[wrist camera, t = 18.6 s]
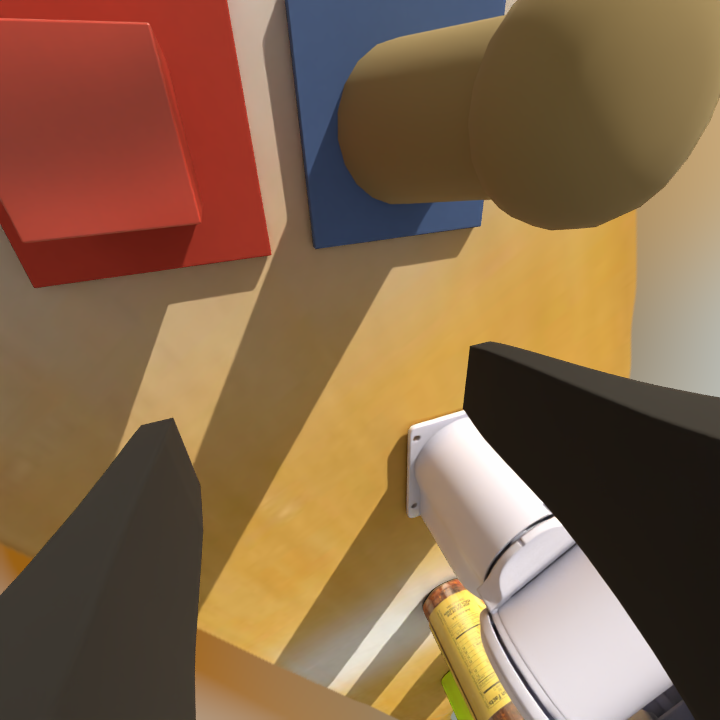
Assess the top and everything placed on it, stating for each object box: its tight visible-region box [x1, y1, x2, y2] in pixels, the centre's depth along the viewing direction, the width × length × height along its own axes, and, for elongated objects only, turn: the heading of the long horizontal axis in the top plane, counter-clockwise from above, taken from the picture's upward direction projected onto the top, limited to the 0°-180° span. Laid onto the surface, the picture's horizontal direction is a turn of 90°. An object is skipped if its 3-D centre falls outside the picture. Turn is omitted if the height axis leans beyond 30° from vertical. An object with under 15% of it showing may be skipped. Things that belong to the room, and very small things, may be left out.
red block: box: [0, 18, 203, 243], centre depth 11 cm, size 4×4×4 cm
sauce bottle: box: [423, 579, 524, 720], centre depth 31 cm, size 6×6×20 cm
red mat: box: [0, 0, 271, 288], centre depth 13 cm, size 9×9×1 cm
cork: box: [338, 0, 720, 230], centre depth 11 cm, size 6×6×11 cm
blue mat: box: [285, 0, 506, 249], centre depth 16 cm, size 9×9×1 cm
